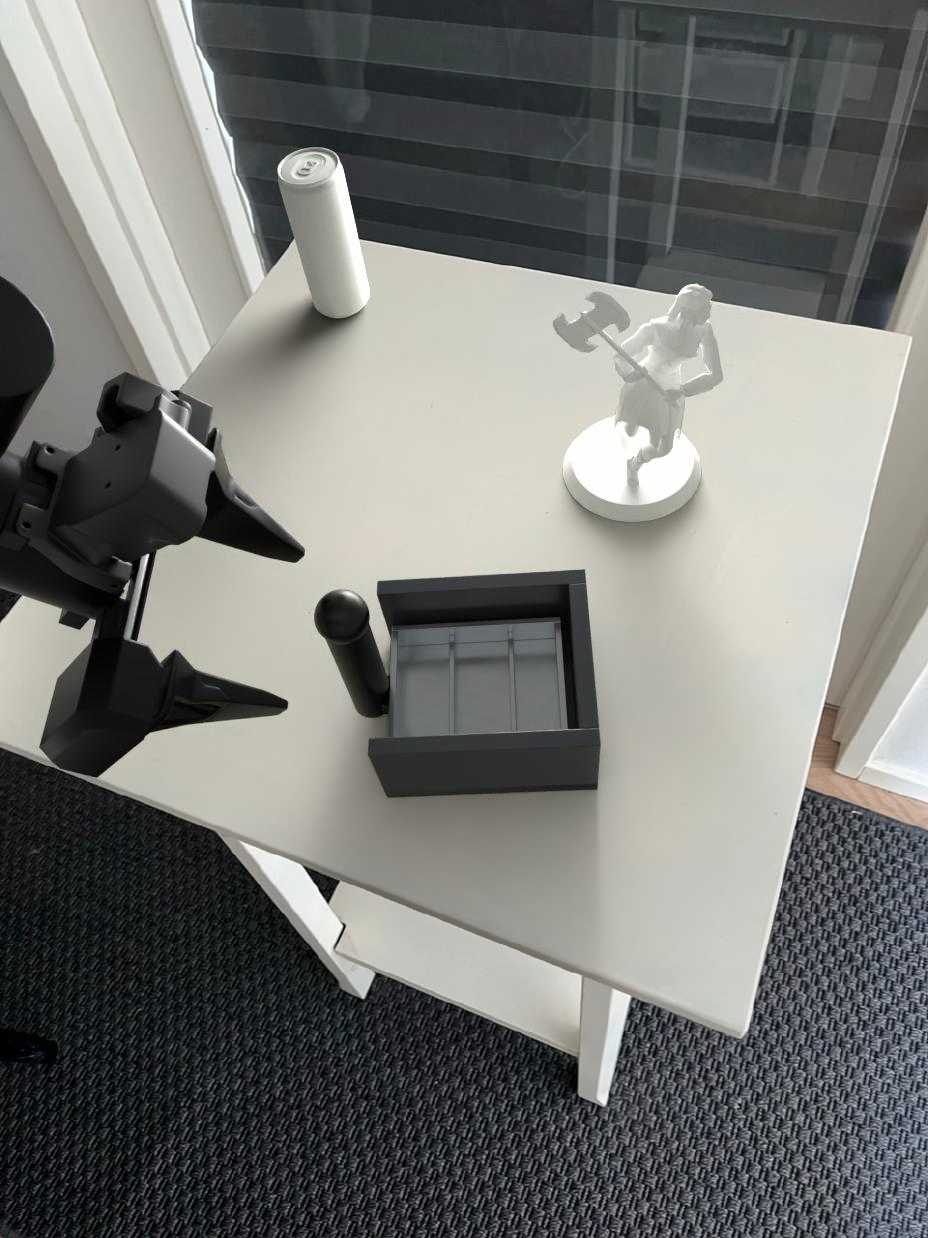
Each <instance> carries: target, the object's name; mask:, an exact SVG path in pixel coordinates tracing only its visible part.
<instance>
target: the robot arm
mask: <svg viewBox="0 0 928 1238" xmlns="http://www.w3.org/2000/svg"><path fill="white" fill-rule="evenodd" d="M52 329H53V328H52V327H51V326H50V324H49V321H48V320H47V319H46V317H45V315H44V313H43V312H42V311H41V310H40V308H39V307H38V306H37V305H36V304H35V303H34V301H33V300H32V299H31V297H29V296H28V295H27V294H26V293H25V292H23V291H22V290H21V289H20V288H19V287H18V286H16V285H15V284H14V283H12V282H11V281H9V280H8V279H6V278H5V277H3V276H2V275H0V589H2V590H5V591H8V592H11V593H14V594H17V595H19V596H23V597H25V598H28V599H32V600H34V601H37V602H40V603H43V604H46V605H49V606H52V607H55V608H58V609H61V611H60V614H59V619H58V624H60V625H63V626H66V627H69V628H72V629H75V630H78V631H81V629H83V627H84V626H85V625H86V624H87V623H88V622H89V621H90V620H93V621H95V622H94V626H93V630H92V634H91V637H90V638H91V639H90V642H89V643H88V644H87V645H86V646H85V647H84V649H83V650H82V651H81V652H80V653H79V654H78V655H77V656H76V657H75V658H74V660H72V662H71V663H70V664H69V665H68V666H66V668H65V669H64V670H63V671H62V673H60V675H58V677H57V678H56V681H55V684H54V689H53V694H52V697H51V700H50V704H49V708H48V712H47V716H46V720H45V723H44V727H43V731H42V734H41V739H40V742H39V746H38V748H39V749H40V750H41V751H42V753H43V754H44V755H45V756H46V757H47V759H49V760H50V762H51V763H53V765H55V766H56V767H57V768H58V769H59V770H63V771H66V772H71V773H75V774H79V775H83V776H87V777H91V778H95V779H97V778H99V777H100V776H102V775H103V774H104V773H105V772H106V771H108V770H109V769H110V768H111V767H112V766H114V765H115V764H116V763H117V762H119V761H120V760H121V759H122V758H124V756H126V755H127V754H129V753H130V752H131V751H133V749H134V748H135V747H137V746H139V744H141V743H143V742H144V740H145V739H146V737H147V736H148V735H149V734H152V733H156V732H161V731H164V730H169V729H174V728H175V729H176V728H178V727H184V726H189V725H199V724H204V723H205V724H207V723H216V722H227V721H237V720H245V719H246V720H247V719H255V718H256V719H257V718H265V717H274V716H275V717H276V716H279V715H281V714H283V713H284V712H285V711H287V710H288V709H289V701H288V700H287V699H285V698H283V697H282V696H279V695H277V694H274V693H272V692H269V691H267V690H264V689H262V688H258V687H255V686H252V685H248V684H246V683H242V682H238V681H234V680H232V679H229V678H225V677H222V676H219V675H214V674H212V673H209V672H208V673H207V672H205V671H202V670H198V669H196V668H195V667H194V666H193V665H192V664H191V663H190V662H189V661H188V659H187V658H186V657H185V656H184V655H183V654H182V653H181V652H180V650H178V649H176V648H175V649H173V650H172V651H171V652H170V653H169V654H168V655H167V656H166V657H165V658H164V659H163V660H161V661H159V659H158V657H157V656H156V654H155V653H154V652H153V650H152V649H151V647H150V645H148V644H146V643H143V642H140V641H138V639H139V636H140V630H141V626H142V622H143V616H144V612H145V608H146V603H147V598H148V593H149V588H150V584H151V580H152V575H153V570H154V567H155V566H154V565H155V561H156V556H157V551H159V550H161V549H163V548H166V547H168V546H179V545H181V544H184V543H187V542H189V541H190V540H191V539H193V538H194V537H196V538H200V539H202V540H206V541H210V542H213V543H216V544H220V545H223V546H226V547H229V548H233V549H237V550H239V551H244V552H246V553H250V554H253V555H256V556H259V557H263V558H267V559H271V560H276V561H281V562H287V563H293V564H296V563H298V562H299V561H301V560H302V559H304V557H305V555H306V549H305V547H304V546H303V545H302V544H301V543H299V542H298V541H297V539H296V538H295V537H293V536H292V534H290V533H289V532H288V531H287V530H286V529H285V528H284V527H283V526H282V525H281V524H279V522H278V521H276V519H274V518H273V517H272V516H271V515H270V514H269V513H268V512H267V511H266V510H265V509H264V508H263V507H262V506H260V504H258V503H257V502H256V501H255V500H254V499H253V498H252V497H251V495H249V494H248V493H247V491H245V489H244V488H243V487H242V486H241V485H240V484H239V483H238V481H236V479H235V478H234V477H233V475H232V474H231V472H230V470H229V466H228V464H227V460H226V457H225V453H224V450H223V444H222V443H223V435H222V432H221V430H219V428H217V427H213V428H212V429H211V430H210V427H211V421H212V417H213V412H214V406H213V405H211V404H209V403H207V402H205V401H203V400H201V399H199V398H196V397H195V396H192V395H191V394H189V393H187V392H185V391H182V390H180V389H175V390H169V389H168V388H167V387H164V386H162V385H160V384H157V383H155V382H153V381H150V380H147V379H145V378H142V377H140V376H138V375H135V374H133V373H130V372H127V371H124V372H122V373H120V374H118V375H117V376H115V377H113V378H111V379H110V380H107V381H106V382H105V383H104V384H103V387H102V391H101V393H100V397H99V401H98V404H97V407H96V411H95V414H96V419H97V420H98V422H99V424H100V426H98V427H96V428H95V429H94V432H93V435H92V438H91V443H90V444H89V445H88V446H87V447H86V448H83V449H82V450H81V451H76V450H69V449H66V448H63V447H61V446H58V445H56V444H54V443H51V442H44V443H41V442H39V441H37V440H35V439H34V440H32V442H31V444H30V445H29V446H28V448H27V450H26V452H25V453H24V455H21V454H19V453H17V452H16V451H12V450H10V449H9V447H10V445H11V443H12V442H13V440H14V438H15V436H16V435H17V433H18V431H19V429H20V428H21V426H22V424H23V422H24V421H25V419H26V417H27V415H28V414H29V413H30V411H31V408H32V407H33V406H34V404H35V402H36V400H37V398H38V396H39V395H40V393H41V391H42V389H43V388H44V386H45V385H46V383H47V381H48V379H49V377H50V376H51V374H52V373H53V370H54V368H55V365H56V362H57V342H56V340H55V337H54V333H53V330H52ZM128 583H129V584H128ZM127 584H128V588H127V591H126V590H125V587H126V585H127ZM125 591H126V595H125V598H122V596H123V595H124V593H125Z"/></svg>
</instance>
